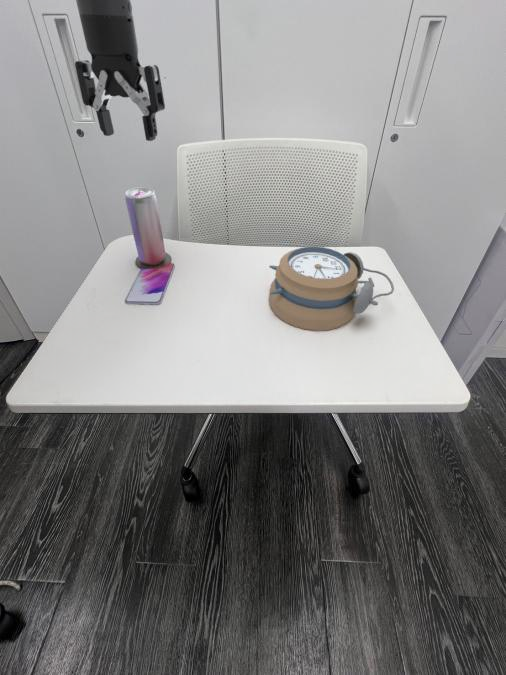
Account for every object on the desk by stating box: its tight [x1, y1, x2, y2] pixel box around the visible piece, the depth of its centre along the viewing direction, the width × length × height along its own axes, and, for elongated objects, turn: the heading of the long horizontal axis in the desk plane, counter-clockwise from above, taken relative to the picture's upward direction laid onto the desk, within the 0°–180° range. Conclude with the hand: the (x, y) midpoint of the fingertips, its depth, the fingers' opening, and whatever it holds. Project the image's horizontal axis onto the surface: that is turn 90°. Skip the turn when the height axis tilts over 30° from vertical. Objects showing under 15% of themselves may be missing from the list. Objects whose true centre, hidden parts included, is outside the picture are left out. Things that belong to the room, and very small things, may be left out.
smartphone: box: [124, 262, 176, 306], centre depth 71 cm, size 7×1×15 cm
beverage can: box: [124, 186, 167, 265], centre depth 72 cm, size 6×6×15 cm
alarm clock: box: [268, 246, 395, 331], centre depth 65 cm, size 17×9×23 cm
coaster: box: [134, 251, 172, 270], centre depth 78 cm, size 8×8×1 cm
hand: (130, 137), depth 61 cm, fingers open, 8 cm apart
